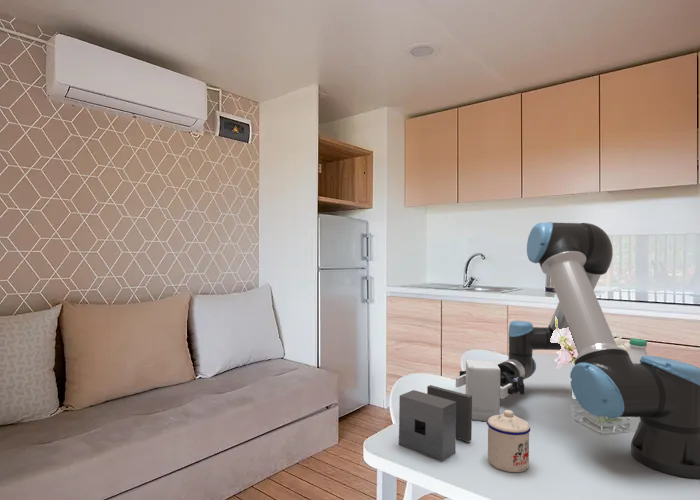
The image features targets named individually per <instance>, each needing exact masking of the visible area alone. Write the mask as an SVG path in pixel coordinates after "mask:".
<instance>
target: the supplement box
mask: <svg viewBox="0 0 700 500" xmlns="http://www.w3.org/2000/svg"><path fill="white" fill-rule="evenodd" d="M465 371H466V384H465V394H467V395H471V396H472V420H473V421H482V422H483V421H484V422H487V421H488V419H489V418H490V417H492V416H495V415H500V414H501V413H500V411H501V407H500V406H501V398H500V388H501V386H500V368H499V367H498V363H497V362H496V361H492V360H491V361H490V360H488V361H487V360H474V359H473V360H472V359H466V361H465Z"/></svg>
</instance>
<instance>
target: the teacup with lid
mask: <svg viewBox="0 0 700 500" xmlns="http://www.w3.org/2000/svg"><path fill="white" fill-rule="evenodd" d="M486 424H487V461H488V462H489V464H490V465H491V466H493V467H494V468H495V469H498V470H501V471H504V472H508V473H522V472H524V471H527V470H528V469H529V466H530V464H529V463H530V458H529V457H530V432H531V427H530V424H529V423H528V422H527V421H526V420H525V419H523V418H521V417H518V416H517V415H514V412H513V411H512V410H510V409H505V410H504V411H503V413H500V415H495V416H492V417H490V418H489V419H488V421H486Z"/></svg>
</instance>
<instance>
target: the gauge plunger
mask: <svg viewBox="0 0 700 500" xmlns="http://www.w3.org/2000/svg"><path fill="white" fill-rule="evenodd" d="M426 390H427V393H426V394H430V395H433V396H437V397H441V398H444V399H448V400H452V401H455V402H456V439H458V440H461V441H465V442H468V443H470V442H471V441H472V426H473V425H472V424H473V423H472V396H471V395H467V394H466V393H462V392H458V391H455V390H451V389H448V388H443V387H439V386H435V385H431V384H430V385H427V387H426Z"/></svg>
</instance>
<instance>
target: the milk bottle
mask: <svg viewBox="0 0 700 500" xmlns="http://www.w3.org/2000/svg"><path fill="white" fill-rule="evenodd" d="M647 344H648V342H647V340H646V339H641V338H630V339H629V346H630V348H629V351H628V354H629V357H630V359H631V361H632V363H635V364H641V362H640V359H641V357H642V356H644V355H648V352H647Z"/></svg>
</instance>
